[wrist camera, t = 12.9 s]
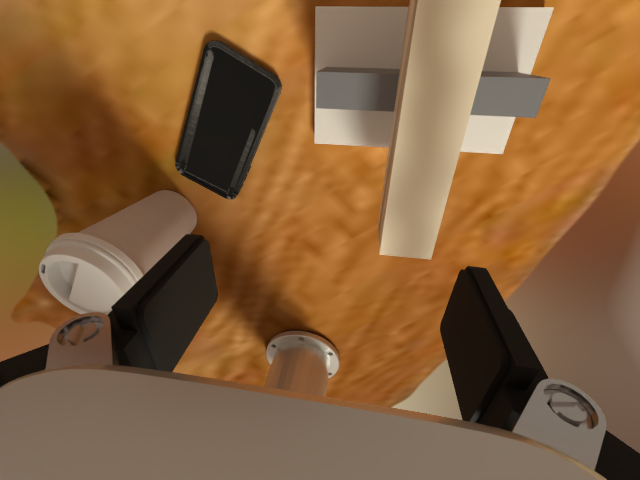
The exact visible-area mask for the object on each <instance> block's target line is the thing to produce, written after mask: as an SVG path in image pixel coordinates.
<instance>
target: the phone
mask: <svg viewBox="0 0 640 480" xmlns="http://www.w3.org/2000/svg"><path fill="white" fill-rule="evenodd" d="M281 89H282V85H281V81H280V79H279V78H278V77H277V76H276V75H275V74H273V73H272V72H270V71H269V70H267V69H265V68H264V67H262V66H261V65H259V64H257V63H256V62H254V61H252V60H251V59H249V58H248V57H246V56H244V55H243V54H241V53H239V52H238V51H236V50H235V49H233V48H231V47H230V46H228V45H227V44H225V43H223V42H221V41H210V42H208V43H207V44H206V46H205V48H204V51H203V55H202V59H201V63H200V67H199V71H198V75H197V79H196V83H195V87H194V91H193V95H192V99H191V103H190V107H189V111H188V115H187V119H186V123H185V127H184V131H183V135H182V139H181V143H180V147H179V151H178V155H177V159H176V164H175V166H176V169H177V171H178V172H179V173H180V174H181V175H183V176H185V177H186V178H188V179H190V180H192V181H194V182H196V183H198V184H200V185H201V186H203V187H205V188H207V189H209V190H211V191H213V192H215V193H217V194H218V195H220V196H222V197H224V198H226V199H234V198H235V197H236V196H237V195H238V194H239V192H240V189H241V188H242V186H243V182H244V181H245V179H246V176H247V172H249V170H250V167H251V166H250V165H251V163H252V160H253V158H254V156H255V153H256V151H257V148H258V146H259V144H260V141H261V139H262V136H263V134H264V132H265V129H266V127H267V124H268V122H269V119H270V117H271V115H272V112H273V110H274V107H275V105H276V103H277V100H278V98H279V95H280V93H281Z"/></svg>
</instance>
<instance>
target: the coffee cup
mask: <svg viewBox="0 0 640 480" xmlns="http://www.w3.org/2000/svg"><path fill="white" fill-rule="evenodd" d="M196 224H197V214H196V211H195V209H194V207H193V206H192V204H191V203H190V202H189V201H188V200H187V199H186V198H185V197H183V196H182V195H180V194H179V193H176V192H174V191H170V190H161V191H158V192H155V193H153V194H152V195H150V196H148V197H146V198H144V199H142V200H140V201H138V202H136V203H134V204H132V205H130V206H128V207H127V208H125V209H123V210H121V211H119V212H117V213H115V214H113V215H111V216H109V217H107V218H105V219H103V220H101V221H99V222H98V223H96V224H94V225H92V226H90V227H88V228H86V229H84V230H82V231H80V232H78V233H66V234H63V235H60V236H58V237H57V238H56V239H55V240H54V241H53V242H52V243H51V244H50V245H49V247H48V249H47V250H46V252H45V256H44V258H43V259H42V261H41V263H40V265H39V274H40V277H41V280H42V282H43V283H44V285H45V287H46V288H47V289H48V290H49V292H50V293H51V294H52V295H53V296H54V297H55V298H56V299H57V300H59V301H60V302H61V303H62V304H64V305H65V306H67V307H68V308H70V309H72V310H73V311H75V312H77V313H79V314H85V313H90V312H100V313H105V314H106V315H108V314H109V313H110V312H111V311H112V308H111V307H112V306H113V305H114V304H115V303H116V302H117V301H118V300H119V299H120V298H121V297H122V296H123V295H124V294H125V293H126V292H127V291H128V290H129V289H130V288H131V287H132V286H133V285H134V284H135V283H136V282H137V281H138V280H139V279H141V278H142V277H143V276H144V275H145V274H146V273H147V272H148V271H149V270H150V269H151V268H152V267H153V266H154V265H155V264H156V263H157V262H158V261H159V260H160V259H161V258H162V257H163V256H164V255H165V254H166V253H167V252H168V251H169V250H170V249H171V248H172V247H173V246H174V245H175V244H176V243H177V242H179V241H180V240H181V239H182V238H183V237H184V236H185V235H186V234H191V232H192V231H193V230H194V228H195V227H196Z"/></svg>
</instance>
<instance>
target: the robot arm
mask: <svg viewBox="0 0 640 480" xmlns="http://www.w3.org/2000/svg"><path fill="white" fill-rule="evenodd" d="M217 297H218V292H217V286H216V280H215V275H214V269H213V264H212V258H211V253H210V247H209V243H208V241H207V240H205V239H204V237H203V236H202V235H193V234H186V235H185V236H184V237H183V238H182V239H181V240H180V241H179V242H177V243H176V244H175V245H174V246H173V247H172V248H171V249H170V250H169V251H168V252H167V253H166V254H165V255H164V256H163V257H162V258H161V259H160V260H159V261H158V262H157V263H156V264H155V265H154V266H153V267H152V268H151V269H150V270H149V271H148V272H147V273H146V274H145V275H144V276H143V277H142V278H141V279H139V280H138V281H137V282H136V283H135V284H134V285H133V286H132V287H131V288H130V289H129V290H128V291H127V292H126V293H125V294H124V295H123V296H122V297H121V298H120V299H119V300H118V301H117V302H116V303H115V304H114V305H113V306H112V307H111V308H112V311H111V312H110V313H109V314H108V315H106V314H105V313H100V312H90V313H85V314H81V315H78V316H76V317H73V318H71V319H70V320H68V321H66V322H64V323H63V324H62V325H60V326H59V327H58V328H57V329H56V330H55V332H54V333H53V334H52V336H51V339H50V343H49V344H48V345H45V346H42V347H40V348H37V349H34V350H32V351H29V352H26V353H23V354H20V355H18V356H15V357H13V358H10V359H7V360H5V361H2V362H0V480H640V454H639V453H638V452H636V451H635V450H634V449H632V448H631V447H629V446H628V445H626V444H625V443H624V442H622V441H621V440H619V439H618V438H616V437H615V436H614V435H612V434H611V433H609V432H608V431H607V430H606V419H605V417H604V414H603V412H602V410H601V409H600V408H599V406H598V405H597V404H596V403H595V402H594V401H593V400H592V399H591V398H590V397H589V396H588V395H587V394H586V393H584V392H583V391H582V390H580V389H579V388H577V387H575V386H573V385H571V384H570V383H567V382H565V381H561V380H558V379H549V378H548V376H547V374H546V372H545V371H544V369H543V367H542V365H541V363H540V361H539V360H538V358H537V356H536V354H535V352H534V351H533V349H532V347H531V345H530V343H529V342H528V340H527V338H526V336H525V334H524V332H523V331H522V329H521V327H520V325H519V323H518V322H517V320H516V318H515V316H514V314H513V313H512V312H511V311H510V310H509V309H508V307H507V306H506V304H505V302H504V300H503V298H502V296H501V295H500V293H499V291H498V289H497V287H496V285H495V284H494V282H493V280H492V278H491V276H490V274H489V272H488V271H487V269H486V268H480V267H471V266H468V267H466V269H465V270H460V272H459V274H458V277H457V280H456V283H455V285H454V288H453V291H452V294H451V296H450V299H449V302H448V305H447V307H446V310H445V313H444V316H443V319H442V321H441V325H440V332H441V336H442V340H443V344H444V348H445V352H446V356H447V360H448V364H449V368H450V372H451V375H452V380H453V383H454V387H455V392H456V396H457V399H458V403H459V407H460V411H461V415H462V419H463V420H457V419H452V418H446V417H441V416H436V415H430V414H425V413H419V412H413V411H408V410H402V409H396V408H390V407H384V406H378V405H372V404H366V403H360V402H354V401H348V400H342V399H336V398H330V397H326V389H327V382H328V378H330V377H332V376H333V375H334V374H335V373H336V372H337V370H338V368H339V360H340V358H339V354H338V352H337V350H336V348H335V347H334V346H333V345H332V344H331V343H330V342H329V341H327V340H326V339H324V338H322V337H320V336H318V335H316V334H313V333H310V332H305V331H286V332H283V333H280V334H278V335H276V336H274V337H273V338H272V339H271V340H270V342H269V344H268V346H267V350H266V356H267V359H268V361H269V363H270V364H271V367H270V370H269V373H268V376H267V380H266V383H265V386H264V387H263V386H257V385H251V384H244V383H238V382H232V381H225V380H219V379H212V378H206V377H200V376H193V375H187V374H181V373H174V372H172V371H173V370H174V368H175V366H176V365H177V363H178V362H179V360H180V358H181V357H182V355H183V354H184V352H185V350H186V349H187V347H188V346H189V344H190V342H191V341H192V339H193V338H194V336H195V334H196V333H197V331H198V330H199V328H200V326H201V325H202V323H203V322H204V320H205V318H206V317H207V315H208V314H209V312H210V310H211V309H212V307H213V306H214V304H215V302H216V300H217Z"/></svg>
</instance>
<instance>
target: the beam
mask: <svg viewBox="0 0 640 480" xmlns="http://www.w3.org/2000/svg"><path fill="white" fill-rule="evenodd" d="M500 2H501V0H409V8H408V15H407V22H406V29H405V36H404V43H403V51H402V58H401V65H400V72H399V79H398V86H397V93H396V101H395V108H394V115H393V122H392V129H391V136H390V144H389V151H388V158H387V165H386V172H385V179H384V187H383V194H382V201H381V208H380V215H379V222H378V229H379V255H390V256H400V257H411V258H421V259H431V257H432V253H433V250H434V246H435V242H436V239H437V235H438V231H439V228H440V224H441V220H442V216H443V213H444V209H445V205H446V202H447V198H448V194H449V191H450V187H451V183H452V180H453V176H454V172H455V168H456V165H457V161H458V157H459V154H460V150H461V146H462V143H463V139H464V135H465V132H466V128H467V124H468V120H469V117H470V113H471V109H472V106H473V102H474V98H475V95H476V91H477V87H478V83H479V80H480V76H481V72H482V69H483V65H484V61H485V58H486V54H487V50H488V47H489V43H490V39H491V35H492V32H493V28H494V24H495V21H496V17H497V13H498V10H499V6H500Z"/></svg>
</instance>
